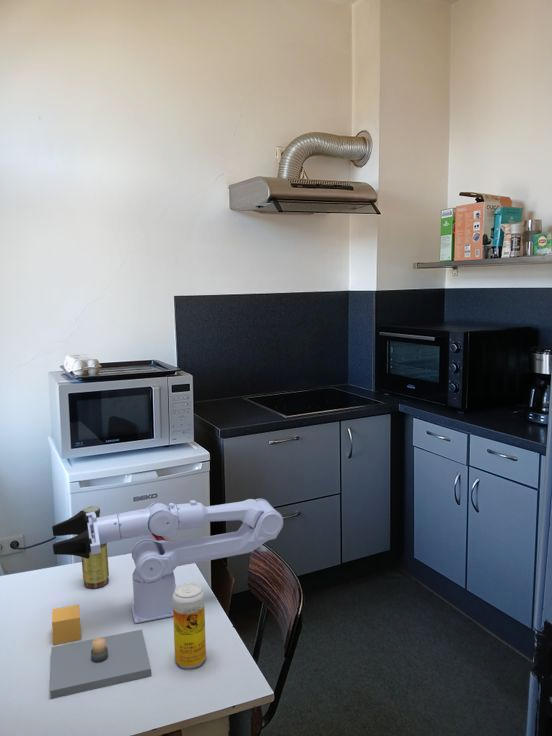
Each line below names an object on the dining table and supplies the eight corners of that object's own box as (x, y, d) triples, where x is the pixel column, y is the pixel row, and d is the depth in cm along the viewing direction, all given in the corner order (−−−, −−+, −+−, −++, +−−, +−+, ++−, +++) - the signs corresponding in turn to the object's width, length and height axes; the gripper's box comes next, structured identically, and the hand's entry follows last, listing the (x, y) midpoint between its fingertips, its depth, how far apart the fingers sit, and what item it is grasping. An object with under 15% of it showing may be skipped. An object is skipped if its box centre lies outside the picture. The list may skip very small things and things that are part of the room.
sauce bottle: (90, 576, 153) (85, 502, 151) (113, 578, 152) (109, 503, 150) (78, 589, 147) (73, 512, 144) (102, 591, 146) (98, 513, 143)
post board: (142, 635, 127) (141, 614, 126) (151, 675, 114) (150, 651, 113) (51, 654, 121) (50, 631, 120) (50, 698, 108) (48, 673, 107)
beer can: (180, 674, 114) (178, 600, 112) (171, 656, 120) (168, 586, 118) (210, 664, 117) (208, 592, 115) (199, 648, 123) (197, 579, 120)
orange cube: (80, 625, 131) (79, 604, 130) (81, 639, 126) (79, 617, 125) (53, 630, 129) (52, 609, 129) (53, 644, 124) (51, 622, 124)
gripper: (113, 496, 137) (50, 507, 132) (120, 527, 124) (51, 540, 119) (116, 523, 139) (54, 535, 134) (123, 556, 126) (55, 571, 121)
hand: (52, 540), depth 127 cm, fingers open, 7 cm apart
